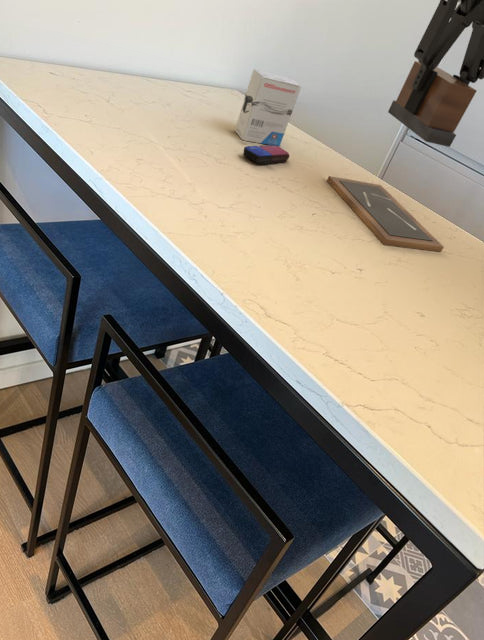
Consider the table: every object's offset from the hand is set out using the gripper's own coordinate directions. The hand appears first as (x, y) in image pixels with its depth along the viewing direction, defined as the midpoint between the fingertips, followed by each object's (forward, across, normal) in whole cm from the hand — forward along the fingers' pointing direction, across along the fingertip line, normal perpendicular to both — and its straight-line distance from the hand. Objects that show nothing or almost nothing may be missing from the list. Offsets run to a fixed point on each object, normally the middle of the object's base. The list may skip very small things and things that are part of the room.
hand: (424, 115), depth 92 cm
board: (+17, +1, +2) cm, 17 cm away
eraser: (+17, +17, -14) cm, 28 cm away
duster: (+2, 0, 0) cm, 2 cm away
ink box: (+17, +15, -24) cm, 33 cm away
